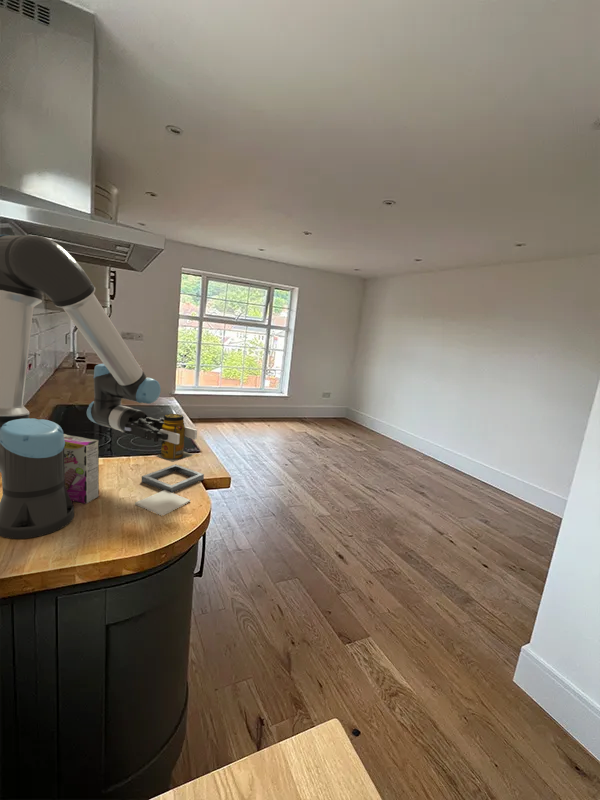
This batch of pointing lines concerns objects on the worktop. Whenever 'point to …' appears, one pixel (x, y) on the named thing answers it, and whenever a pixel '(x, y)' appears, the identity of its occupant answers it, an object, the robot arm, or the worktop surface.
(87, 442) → the candy bar box
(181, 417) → the condiment
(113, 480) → the worktop surface
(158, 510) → the tile
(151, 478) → the socket
